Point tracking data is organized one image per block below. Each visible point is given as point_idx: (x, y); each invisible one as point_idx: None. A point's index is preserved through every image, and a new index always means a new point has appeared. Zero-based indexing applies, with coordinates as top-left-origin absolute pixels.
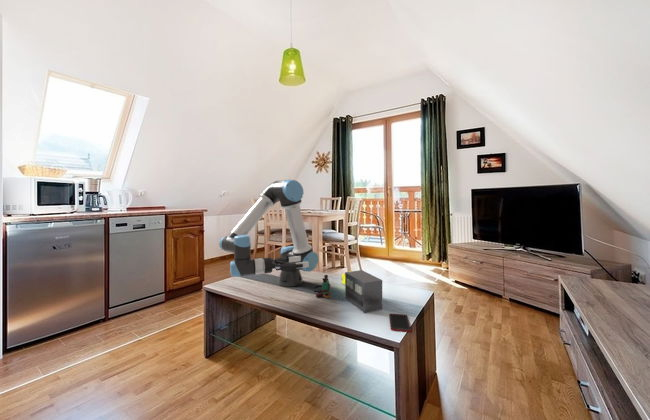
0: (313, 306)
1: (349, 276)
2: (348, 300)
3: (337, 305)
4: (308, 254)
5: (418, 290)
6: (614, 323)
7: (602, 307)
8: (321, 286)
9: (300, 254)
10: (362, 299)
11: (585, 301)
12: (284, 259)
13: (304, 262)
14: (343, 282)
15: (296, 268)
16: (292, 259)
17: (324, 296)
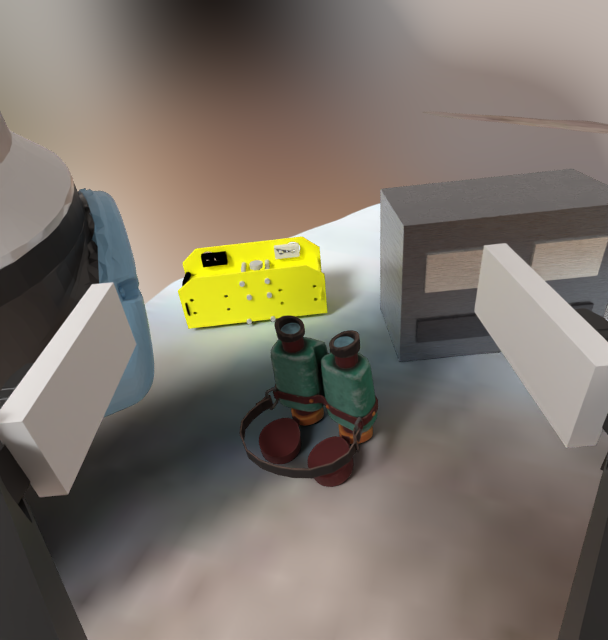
0: (515, 548)
1: (461, 231)
2: (436, 356)
3: (498, 411)
4: (107, 228)
5: (378, 207)
6: (581, 124)
7: (515, 117)
8: (259, 410)
9: (28, 273)
10: (596, 292)
11: (489, 119)
12: (32, 554)
13: (536, 275)
14: (206, 320)
15: (596, 439)
16: (75, 404)
17: (364, 438)
